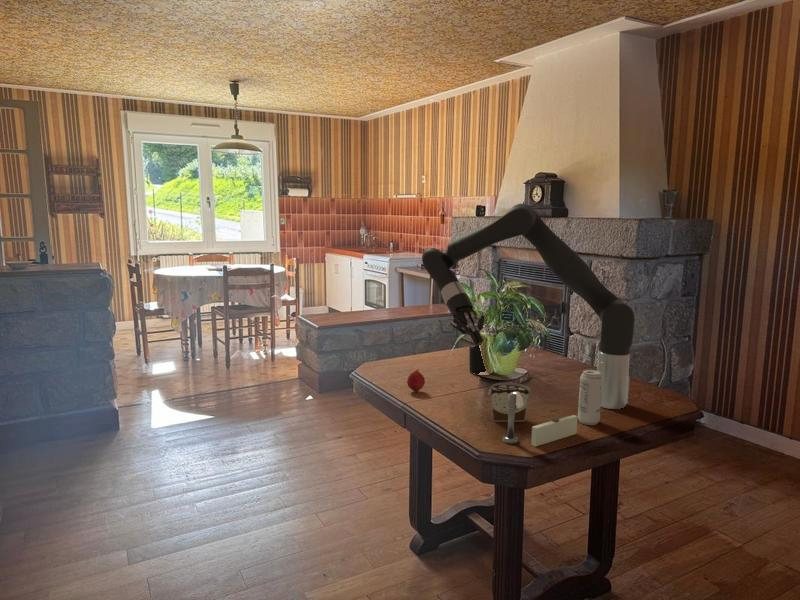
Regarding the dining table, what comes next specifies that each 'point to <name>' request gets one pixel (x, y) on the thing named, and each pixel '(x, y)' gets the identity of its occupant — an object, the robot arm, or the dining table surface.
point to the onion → (415, 381)
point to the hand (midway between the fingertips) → (479, 343)
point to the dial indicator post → (514, 403)
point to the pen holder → (476, 360)
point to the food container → (501, 401)
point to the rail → (554, 430)
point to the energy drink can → (590, 397)
